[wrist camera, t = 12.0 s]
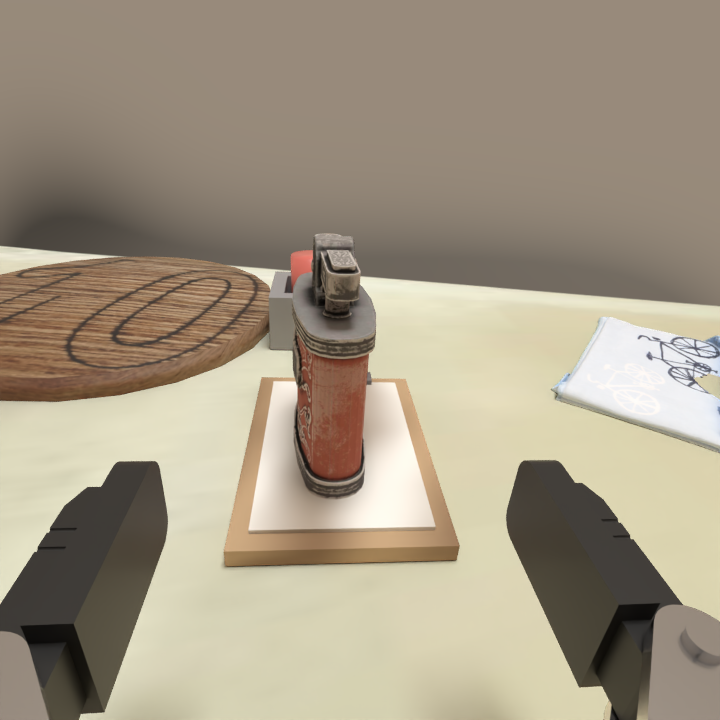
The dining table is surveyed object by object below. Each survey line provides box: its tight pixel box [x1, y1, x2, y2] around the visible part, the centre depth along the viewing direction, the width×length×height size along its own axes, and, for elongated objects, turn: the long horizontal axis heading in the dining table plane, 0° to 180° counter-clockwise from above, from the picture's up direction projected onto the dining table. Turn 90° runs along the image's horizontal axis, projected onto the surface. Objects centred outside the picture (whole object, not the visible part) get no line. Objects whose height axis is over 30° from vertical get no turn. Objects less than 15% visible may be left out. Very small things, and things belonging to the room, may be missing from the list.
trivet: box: [0, 257, 270, 402], centre depth 37 cm, size 25×25×2 cm
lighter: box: [292, 234, 376, 499], centre depth 21 cm, size 8×3×10 cm, turn 9°
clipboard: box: [224, 372, 459, 566], centre depth 24 cm, size 9×13×1 cm
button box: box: [269, 272, 295, 350], centre depth 36 cm, size 6×6×4 cm
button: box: [291, 250, 313, 293], centre depth 35 cm, size 3×3×4 cm
